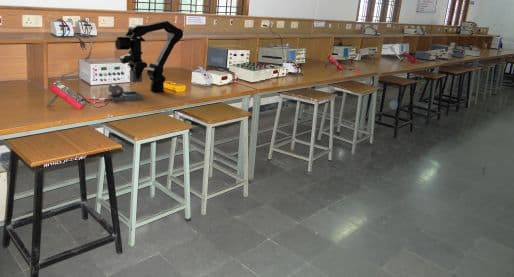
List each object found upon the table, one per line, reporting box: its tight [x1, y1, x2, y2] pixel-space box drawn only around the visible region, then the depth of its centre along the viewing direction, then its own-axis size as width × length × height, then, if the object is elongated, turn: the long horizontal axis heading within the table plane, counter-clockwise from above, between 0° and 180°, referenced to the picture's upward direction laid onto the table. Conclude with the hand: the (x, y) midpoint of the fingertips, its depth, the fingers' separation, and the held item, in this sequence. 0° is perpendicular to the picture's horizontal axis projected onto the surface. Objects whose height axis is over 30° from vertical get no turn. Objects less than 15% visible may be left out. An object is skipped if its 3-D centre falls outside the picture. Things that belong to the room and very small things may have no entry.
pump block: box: [129, 69, 143, 83], centre depth 230 cm, size 5×5×8 cm
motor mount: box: [107, 83, 143, 102], centre depth 219 cm, size 15×10×8 cm, turn 125°
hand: (136, 78), depth 231 cm, fingers closed on pump block, 5 cm apart
